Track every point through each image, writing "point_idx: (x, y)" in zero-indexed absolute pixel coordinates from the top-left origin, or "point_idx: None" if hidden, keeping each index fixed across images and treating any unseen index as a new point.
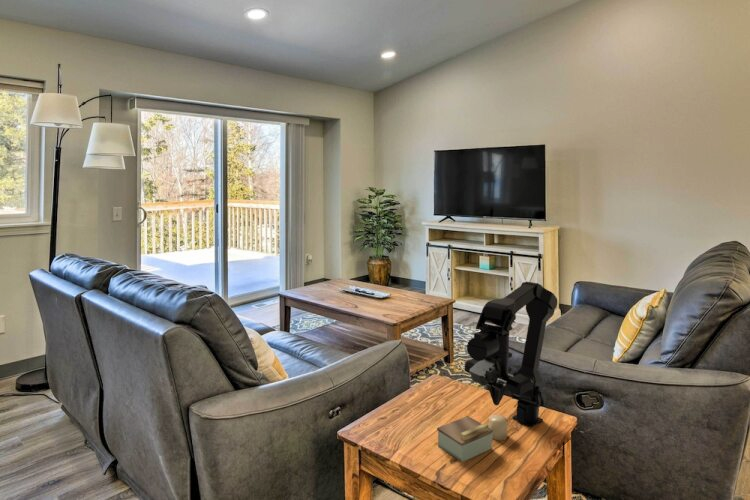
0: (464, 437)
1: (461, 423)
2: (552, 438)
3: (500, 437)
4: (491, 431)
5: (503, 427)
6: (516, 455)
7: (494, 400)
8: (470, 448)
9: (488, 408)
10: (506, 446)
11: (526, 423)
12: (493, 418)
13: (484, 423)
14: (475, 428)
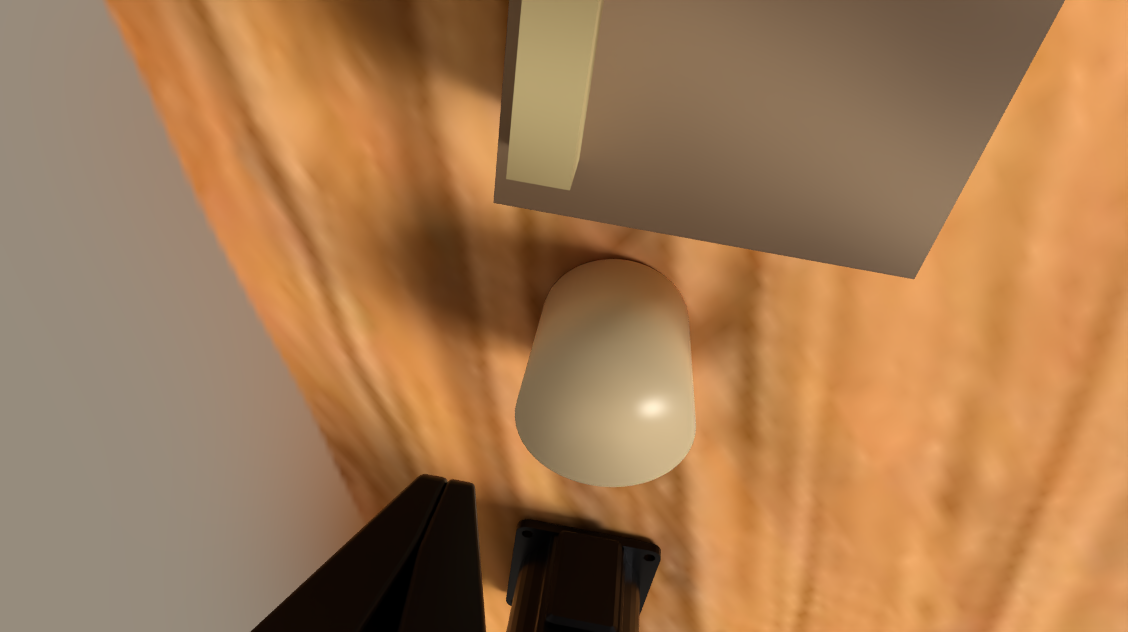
0: None
1: (914, 38)
2: (365, 490)
3: (554, 293)
4: (497, 175)
5: (528, 365)
6: (352, 187)
7: (420, 544)
8: None
9: (858, 566)
10: (480, 243)
11: (548, 536)
12: (643, 408)
13: (566, 176)
14: None
